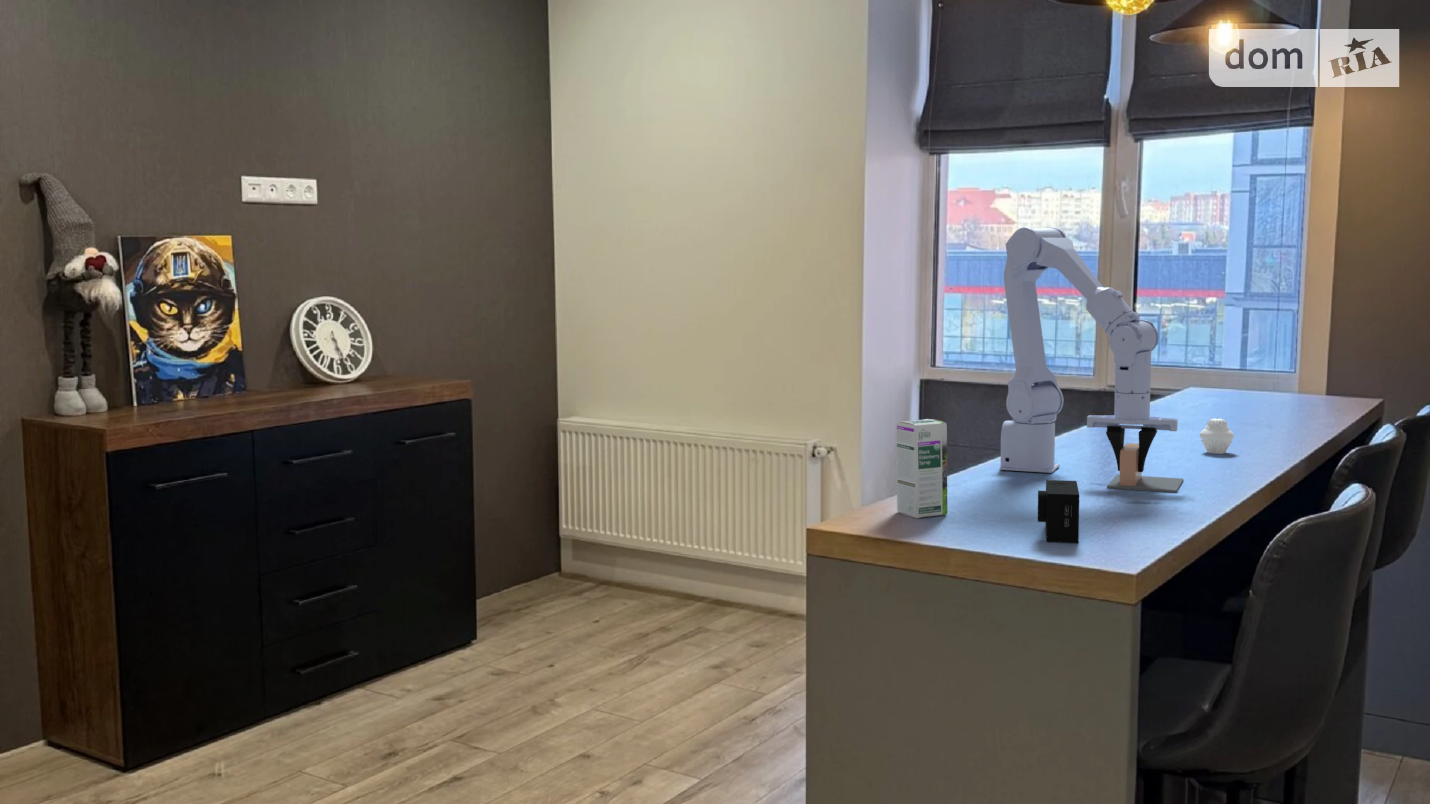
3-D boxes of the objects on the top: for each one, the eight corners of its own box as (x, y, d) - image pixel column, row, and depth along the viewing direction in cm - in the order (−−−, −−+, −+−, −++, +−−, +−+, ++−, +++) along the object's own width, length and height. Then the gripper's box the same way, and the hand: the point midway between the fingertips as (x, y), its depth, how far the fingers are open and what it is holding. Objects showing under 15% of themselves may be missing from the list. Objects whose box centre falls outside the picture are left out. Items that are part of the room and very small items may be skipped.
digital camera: (1037, 525, 175) (1037, 478, 174) (1075, 527, 173) (1076, 479, 173) (1037, 542, 165) (1038, 492, 164) (1078, 543, 164) (1079, 494, 163)
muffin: (1238, 455, 230) (1239, 419, 229) (1206, 455, 230) (1207, 419, 229) (1225, 449, 236) (1226, 414, 235) (1194, 450, 236) (1195, 415, 235)
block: (1118, 485, 201) (1119, 450, 200) (1125, 476, 208) (1126, 443, 207) (1135, 486, 200) (1136, 450, 199) (1141, 477, 207) (1142, 443, 206)
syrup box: (916, 519, 180) (916, 424, 178) (895, 511, 185) (895, 420, 184) (948, 515, 182) (948, 421, 181) (926, 508, 188) (926, 417, 186)
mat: (1106, 488, 201) (1107, 485, 201) (1116, 476, 210) (1116, 474, 210) (1176, 492, 196) (1176, 490, 196) (1183, 480, 205) (1183, 478, 205)
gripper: (1084, 393, 202) (1083, 471, 204) (1175, 396, 195) (1173, 477, 197) (1091, 388, 208) (1090, 465, 210) (1179, 391, 202) (1177, 470, 203)
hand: (1130, 470), depth 204 cm, fingers closed on block, 3 cm apart
